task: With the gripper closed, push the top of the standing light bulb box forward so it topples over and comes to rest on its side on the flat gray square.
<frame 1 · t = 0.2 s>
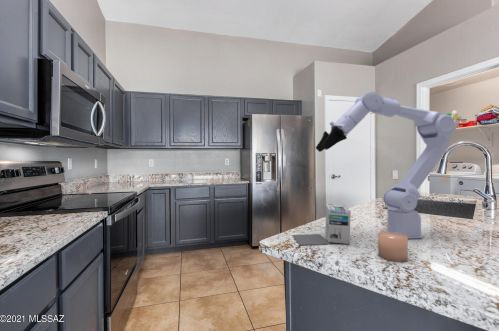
hand: (320, 148, 83), 31 cm above the countertop, tool tilted 45°, fingers open, 7 cm apart
flat gray square: (310, 239, 81), on the countertop
light bulb box: (336, 239, 82), on the countertop, touching flat gray square
tan rounded cylinder: (392, 256, 67), on the countertop
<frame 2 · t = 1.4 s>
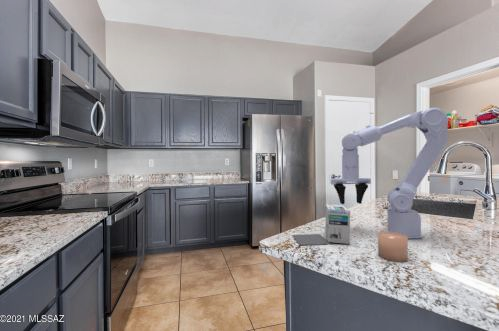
hand: (350, 203, 90), 10 cm above the countertop, tool pointing down, fingers open, 6 cm apart
nothing on the countertop moved.
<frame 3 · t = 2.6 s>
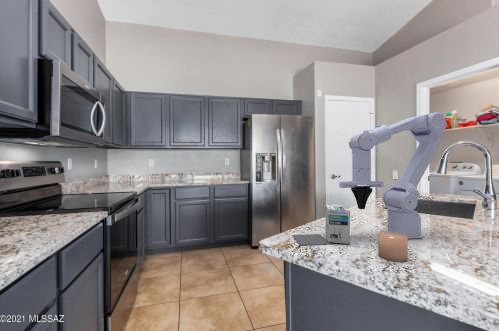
hand: (361, 208, 82), 10 cm above the countertop, tool pointing down, fingers closed
nothing on the countertop moved.
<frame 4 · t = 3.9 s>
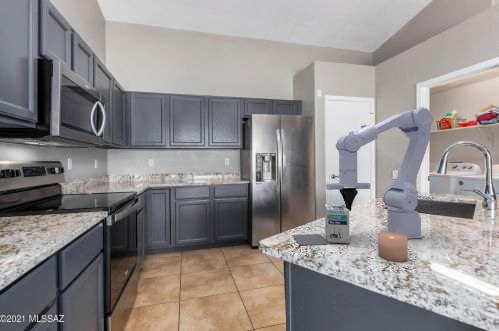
hand: (348, 210, 82), 10 cm above the countertop, tool pointing down, fingers closed
light bulb box: (336, 238, 82), on the countertop, touching gripper, flat gray square
everything else where it was.
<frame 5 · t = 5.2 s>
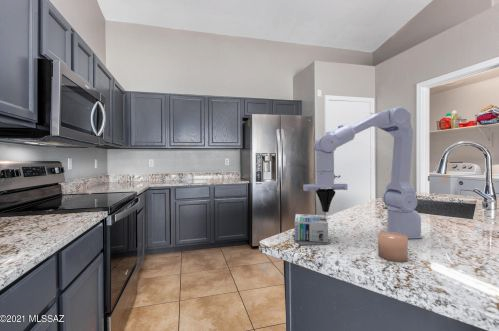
hand: (325, 211, 82), 9 cm above the countertop, tool pointing down, fingers closed
light bulb box: (327, 228, 82), point 4 cm above the countertop, touching flat gray square
everything else where it was.
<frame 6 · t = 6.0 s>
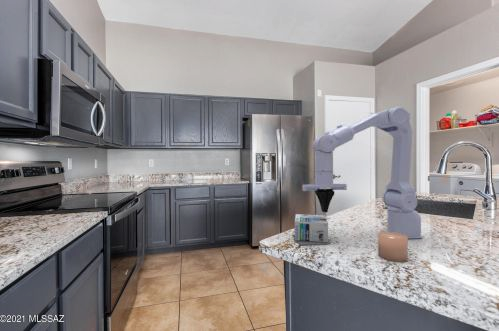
hand: (324, 211, 82), 9 cm above the countertop, tool pointing down, fingers closed
nothing on the countertop moved.
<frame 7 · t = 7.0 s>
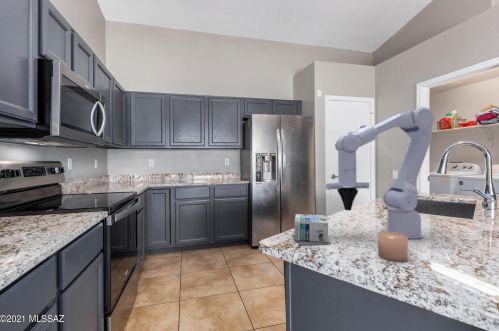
hand: (347, 209, 83), 10 cm above the countertop, tool pointing down, fingers closed
nothing on the countertop moved.
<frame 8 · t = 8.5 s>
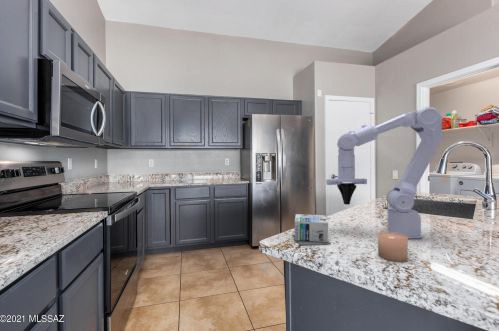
hand: (346, 204, 89), 10 cm above the countertop, tool pointing down, fingers closed
nothing on the countertop moved.
at the end: light bulb box tilted 89°; light bulb box inside the target area (7.2 cm from its centre), point 3.5 cm above the countertop; light bulb box moved 4.6 cm from its start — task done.
